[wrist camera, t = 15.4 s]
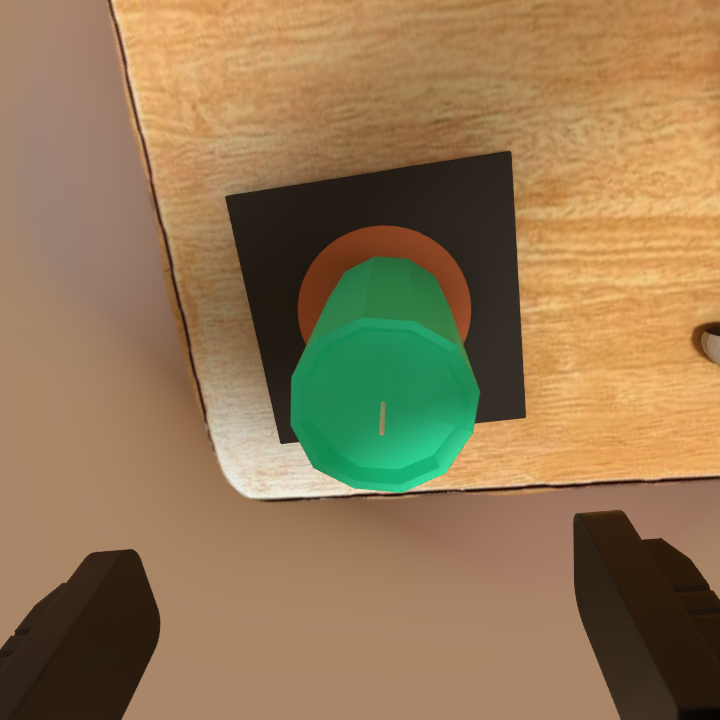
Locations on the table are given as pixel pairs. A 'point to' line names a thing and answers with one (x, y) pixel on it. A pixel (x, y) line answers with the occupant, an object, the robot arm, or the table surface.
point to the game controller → (712, 343)
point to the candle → (384, 380)
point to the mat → (388, 239)
